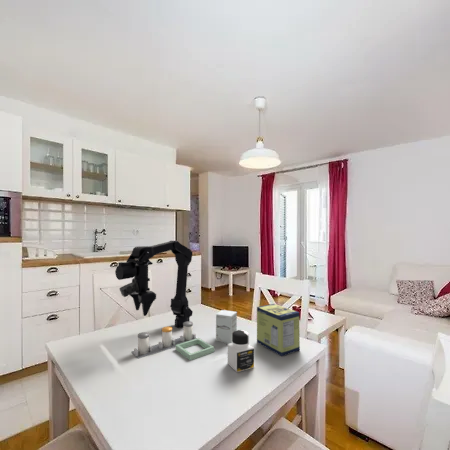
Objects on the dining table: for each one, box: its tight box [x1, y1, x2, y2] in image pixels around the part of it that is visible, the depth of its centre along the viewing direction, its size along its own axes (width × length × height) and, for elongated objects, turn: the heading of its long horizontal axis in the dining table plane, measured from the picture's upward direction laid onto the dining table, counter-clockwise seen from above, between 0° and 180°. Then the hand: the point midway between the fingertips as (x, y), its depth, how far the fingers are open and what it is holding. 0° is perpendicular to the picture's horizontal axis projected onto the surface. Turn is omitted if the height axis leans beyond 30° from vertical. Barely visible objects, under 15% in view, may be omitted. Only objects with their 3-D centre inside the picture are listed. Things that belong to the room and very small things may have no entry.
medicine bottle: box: [227, 329, 255, 373], centre depth 93 cm, size 7×7×12 cm
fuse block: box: [131, 321, 197, 359], centre depth 106 cm, size 27×7×8 cm, turn 129°
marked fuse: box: [161, 325, 173, 348], centre depth 106 cm, size 4×4×7 cm
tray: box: [175, 337, 215, 361], centre depth 102 cm, size 11×11×3 cm
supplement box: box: [215, 309, 238, 346], centre depth 114 cm, size 7×7×13 cm
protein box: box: [256, 303, 301, 357], centre depth 109 cm, size 10×16×16 cm
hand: (141, 312), depth 110 cm, fingers open, 9 cm apart
